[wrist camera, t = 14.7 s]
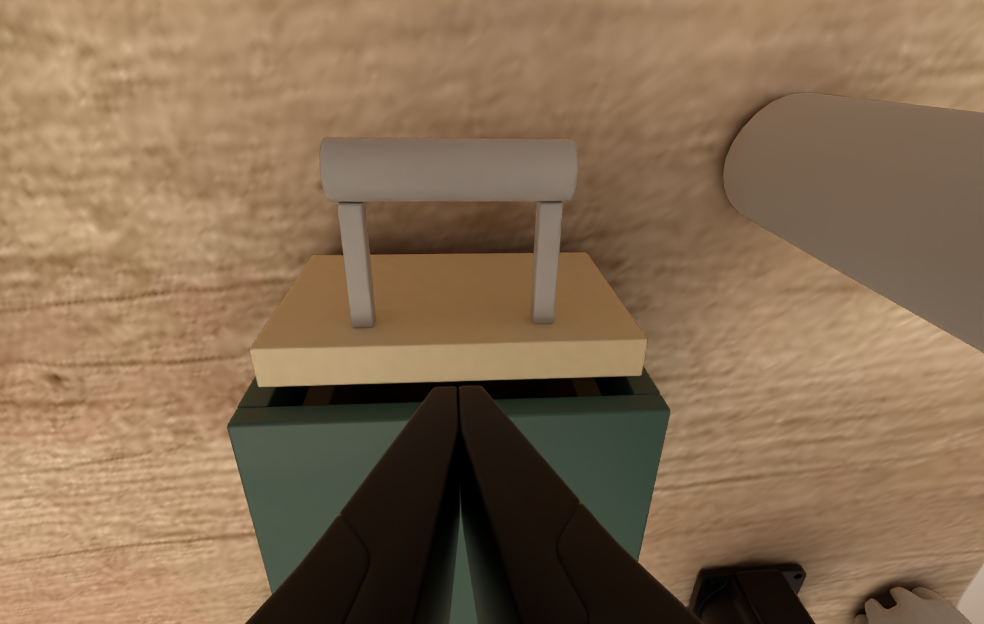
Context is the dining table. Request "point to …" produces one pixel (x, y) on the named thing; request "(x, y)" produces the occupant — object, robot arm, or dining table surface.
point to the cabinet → (368, 434)
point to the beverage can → (874, 197)
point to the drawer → (447, 286)
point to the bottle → (912, 609)
